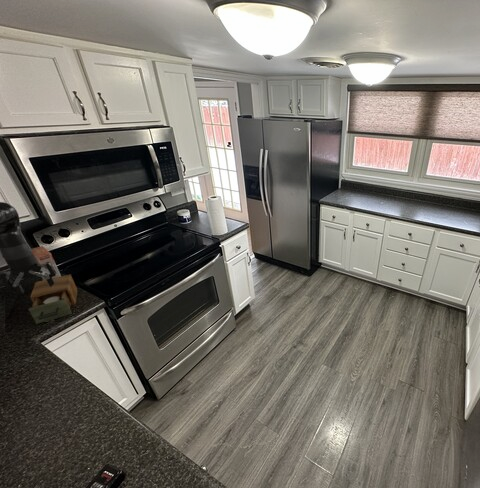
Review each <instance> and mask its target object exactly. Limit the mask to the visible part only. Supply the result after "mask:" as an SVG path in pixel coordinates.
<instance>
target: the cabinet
mask: <svg viewBox="0 0 480 488" xmlns="http://www.w3.org/2000/svg"><path fill="white" fill-rule="evenodd" d="M52 279H53V281H54V285H53V286H52V287H50V286H49V284H48V282H47V280H43V279H42V280H39V281H36V282H35V283H34V286H33V289H32V292H31V294H30V296H29V297H30V300H31V302H32V304H33V303H34V300H35V298H36V297H39V296H43V295H47V294H51V293H55V292H59V291H63V290H67V292H68V294H69V296H70V299H71V306H74V305H76V304H77V297H78V288H77V285H76V283H75V281H74V279H73V276H72V274H70V273H69V274H66V275H61V277H56V278H52Z"/></svg>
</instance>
